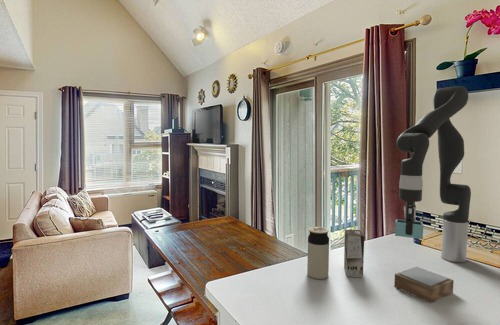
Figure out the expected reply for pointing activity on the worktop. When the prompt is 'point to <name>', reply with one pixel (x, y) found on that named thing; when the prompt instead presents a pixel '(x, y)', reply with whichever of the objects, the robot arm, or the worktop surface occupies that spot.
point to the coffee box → (354, 253)
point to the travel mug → (318, 253)
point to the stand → (424, 284)
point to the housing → (401, 229)
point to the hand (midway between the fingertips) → (408, 232)
